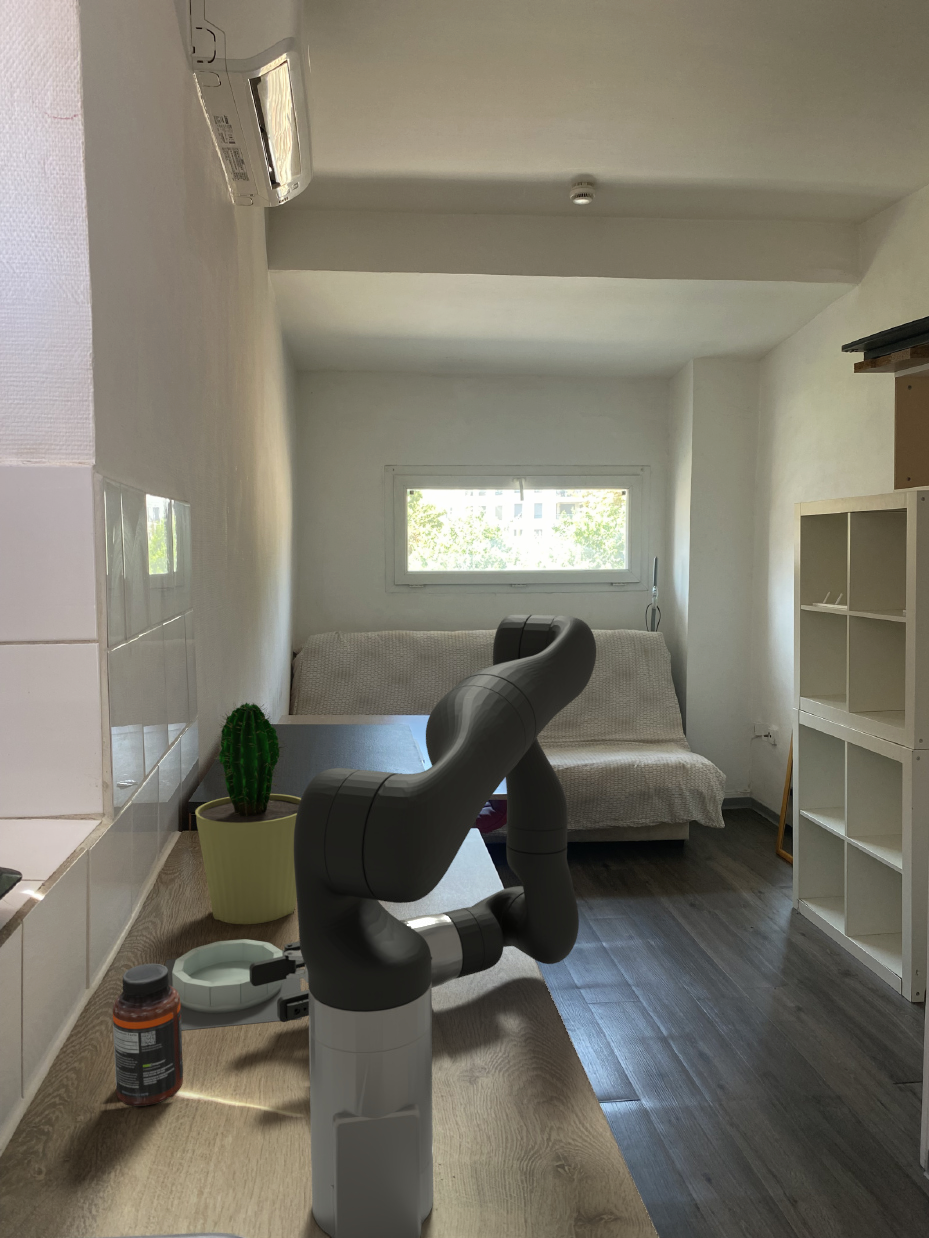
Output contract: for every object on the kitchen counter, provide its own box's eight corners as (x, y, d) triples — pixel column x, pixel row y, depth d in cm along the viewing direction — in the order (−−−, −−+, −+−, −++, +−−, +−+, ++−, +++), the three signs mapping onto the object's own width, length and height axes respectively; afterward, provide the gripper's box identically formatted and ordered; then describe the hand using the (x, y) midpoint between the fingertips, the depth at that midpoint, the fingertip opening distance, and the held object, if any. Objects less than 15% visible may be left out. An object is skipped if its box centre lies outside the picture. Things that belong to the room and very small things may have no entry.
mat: (301, 1022, 98) (301, 1018, 98) (143, 1037, 95) (143, 1033, 95) (299, 951, 115) (299, 948, 115) (166, 962, 112) (166, 959, 112)
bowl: (282, 1006, 100) (281, 980, 100) (167, 1017, 98) (167, 990, 98) (283, 960, 112) (282, 936, 112) (180, 968, 110) (180, 944, 110)
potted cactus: (321, 922, 125) (318, 703, 123) (203, 940, 119) (198, 710, 117) (298, 885, 139) (295, 688, 137) (192, 899, 133) (187, 694, 131)
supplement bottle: (160, 1065, 89) (157, 952, 89) (196, 1087, 86) (193, 969, 85) (102, 1093, 85) (99, 973, 84) (138, 1117, 81) (134, 993, 80)
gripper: (381, 900, 105) (241, 930, 96) (442, 944, 92) (288, 983, 84) (381, 964, 105) (242, 999, 97) (443, 1017, 93) (289, 1063, 85)
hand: (263, 992), depth 90 cm, fingers open, 8 cm apart
